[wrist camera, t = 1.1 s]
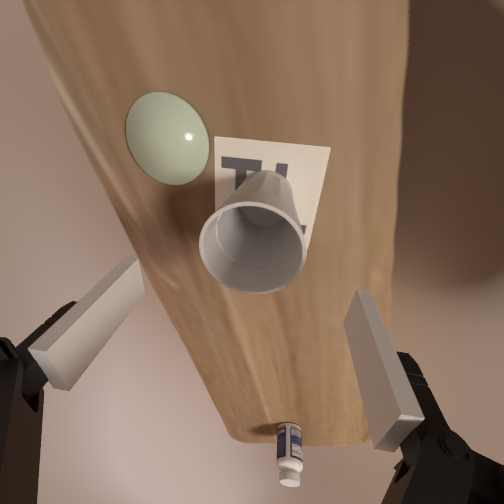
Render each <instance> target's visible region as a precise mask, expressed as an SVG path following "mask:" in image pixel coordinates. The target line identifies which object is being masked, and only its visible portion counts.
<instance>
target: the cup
mask: <svg viewBox="0 0 504 504" xmlns="http://www.w3.org/2000/svg"><path fill="white" fill-rule="evenodd" d="M199 250H200V255H201V258H202V261H203V263H204V265H205V267H206V268H207V270H208V271H209V272H210V273H211V275H212V276H213V277H214V278H215V279H217V280H218V281H219V282H220V283H222V284H223V285H225V286H227V287H229V288H231V289H233V290H236V291H239V292H242V293H247V294H267V293H272V292H275V291H278V290H280V289H283V288H284V287H286V286H288V285H289V284H291V283H292V282H293V281H294V280H295V279H296V278H297V277H298V275H299V274H300V273H301V271H302V269H303V267H304V264H305V261H306V255H307V248H306V242H305V238H304V235H303V231H302V228H301V225H300V221H299V218H298V215H297V211H296V207H295V203H294V199H293V190H292V187H291V185H290V183H289V182H288V181H287V179H286V178H285V177H283V176H282V175H281V174H279V173H277V172H274V171H270V170H261V171H257V172H254V173H252V174H251V175H249V176H248V177H247V178H246V179H245V180H244V181H243V183H242V184H241V185H240V186H239V187H238V189H237V190H236V191H235V192H234V193H233V194H232V195H231V196H230V197H229V198H228V199H227V200H226V201H225V202H224V203H223V204H222V205H221V206H220V207H219V208H218V209H217V210H216V211H215V212H214V213H213V214H212V215H211V216H210V217H209V218H208V220H207V221H206V222H205V224H204V226H203V228H202V230H201V233H200V238H199Z"/></svg>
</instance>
